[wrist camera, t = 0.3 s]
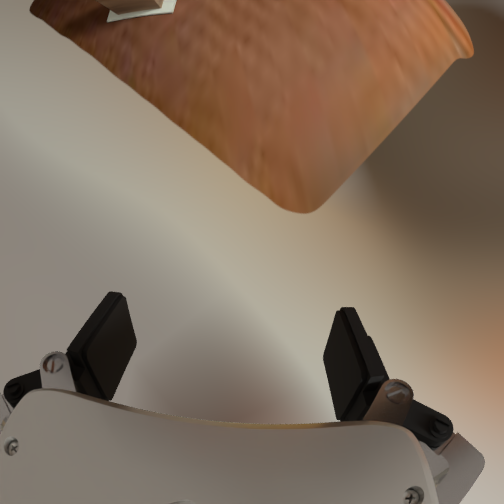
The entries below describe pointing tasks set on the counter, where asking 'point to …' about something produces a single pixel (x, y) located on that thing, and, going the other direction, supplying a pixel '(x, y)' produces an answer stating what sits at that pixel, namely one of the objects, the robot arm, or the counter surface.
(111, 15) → the mat
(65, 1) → the counter surface
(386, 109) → the counter surface
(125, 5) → the slab
